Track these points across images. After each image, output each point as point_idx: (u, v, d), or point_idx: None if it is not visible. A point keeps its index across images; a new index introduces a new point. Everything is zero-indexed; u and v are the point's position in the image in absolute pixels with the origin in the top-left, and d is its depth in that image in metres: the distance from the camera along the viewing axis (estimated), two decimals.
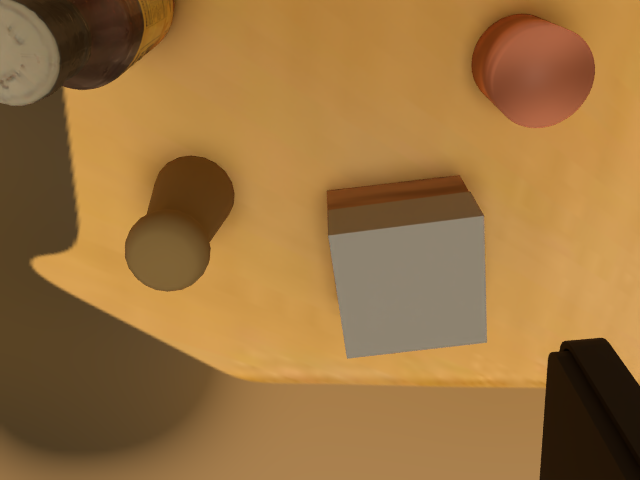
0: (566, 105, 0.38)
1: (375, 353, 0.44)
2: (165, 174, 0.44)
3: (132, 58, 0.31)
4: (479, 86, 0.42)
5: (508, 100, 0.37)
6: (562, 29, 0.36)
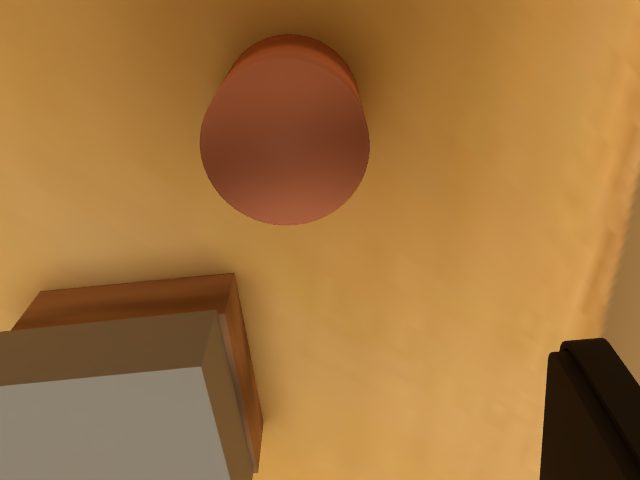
0: (330, 191, 0.22)
1: None
2: None
3: None
4: None
5: (232, 181, 0.22)
6: (301, 66, 0.20)
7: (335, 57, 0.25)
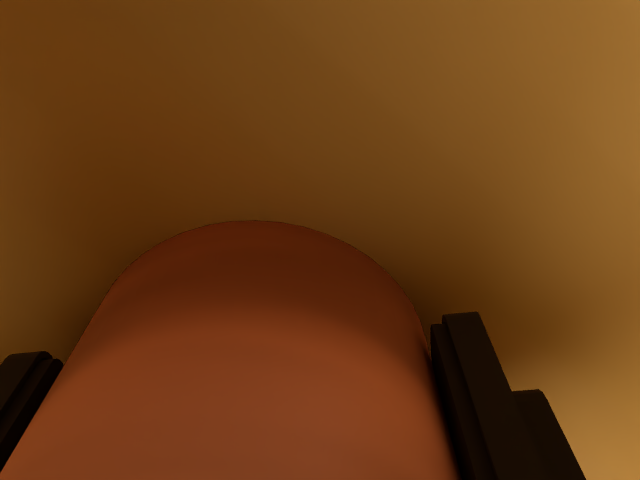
0: None
1: None
2: None
3: None
4: None
5: None
6: None
7: (377, 305, 0.09)
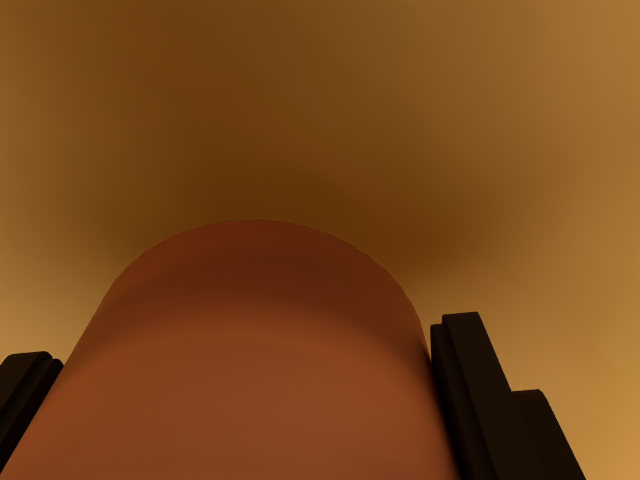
0: None
1: None
2: None
3: None
4: None
5: None
6: None
7: (377, 304, 0.09)
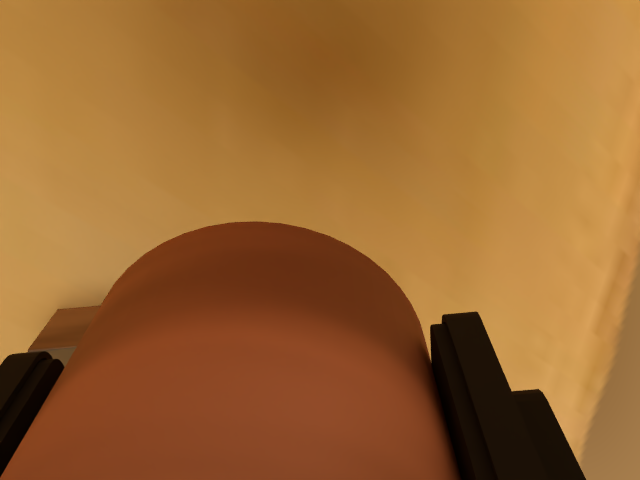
0: None
1: None
2: None
3: None
4: None
5: None
6: None
7: (377, 306, 0.09)
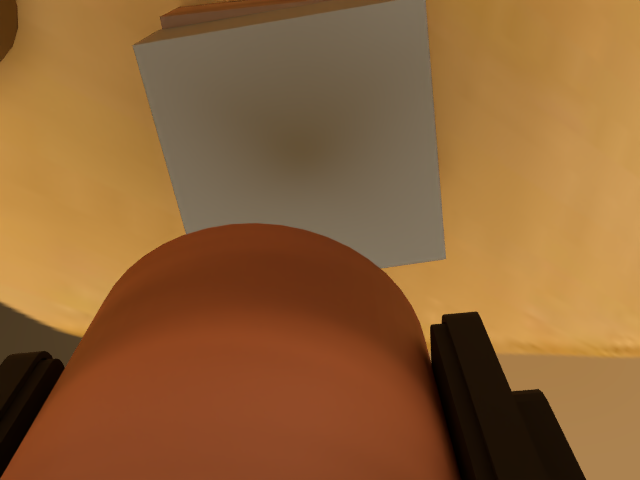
0: None
1: None
2: None
3: None
4: None
5: None
6: None
7: (378, 308, 0.09)
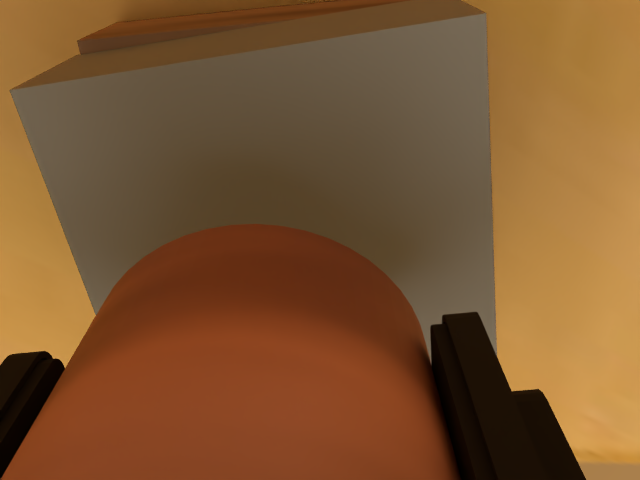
0: None
1: None
2: None
3: None
4: None
5: None
6: None
7: (378, 309, 0.09)
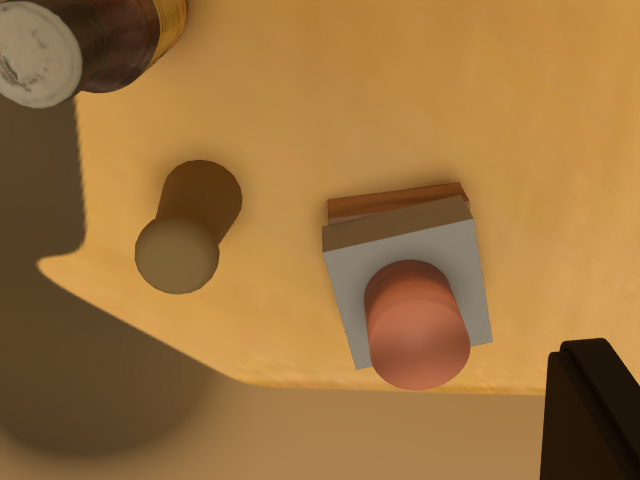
0: (447, 369, 0.37)
1: None
2: (174, 178, 0.44)
3: (148, 63, 0.31)
4: None
5: (388, 369, 0.37)
6: (429, 308, 0.35)
7: (438, 276, 0.40)
